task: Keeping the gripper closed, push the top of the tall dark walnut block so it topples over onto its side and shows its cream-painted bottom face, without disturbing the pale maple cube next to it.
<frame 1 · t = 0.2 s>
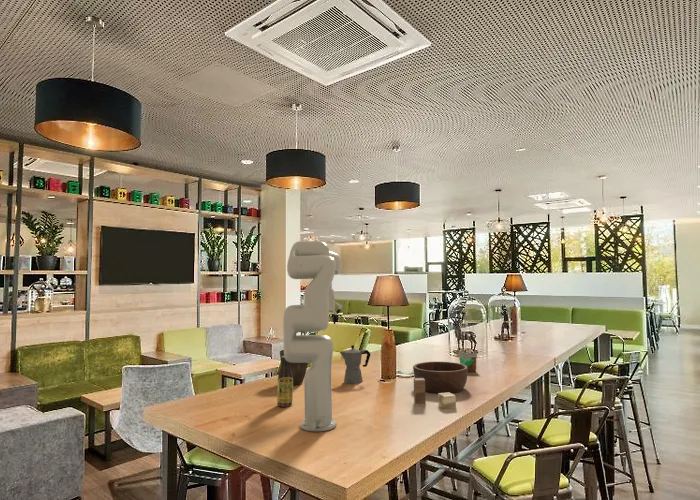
hand: (323, 324, 205), 31 cm above the table, tool pointing down, fingers open, 9 cm apart
wooden bowl: (440, 389, 210), on the table
walnut block: (419, 404, 185), on the table
brown wooden cup: (295, 383, 224), on the table
food container: (465, 371, 248), on the table
maple cube: (447, 407, 180), on the table
coffeepot: (355, 382, 226), on the table
sauce bottle: (285, 406, 185), on the table
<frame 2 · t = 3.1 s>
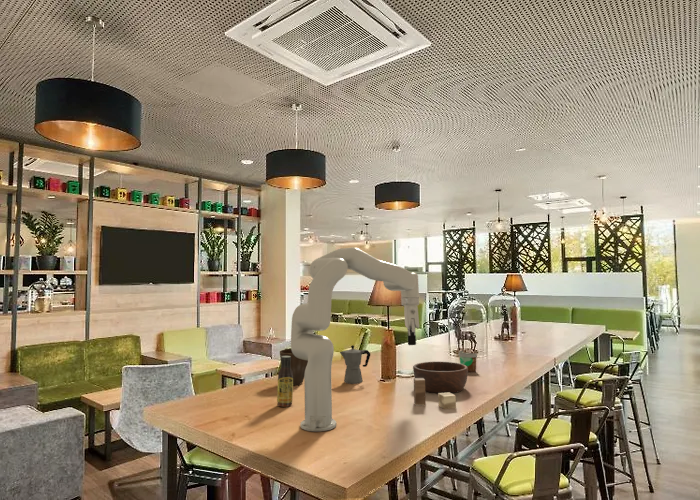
hand: (412, 344, 193), 23 cm above the table, tool pointing down, fingers closed
nothing on the table moved.
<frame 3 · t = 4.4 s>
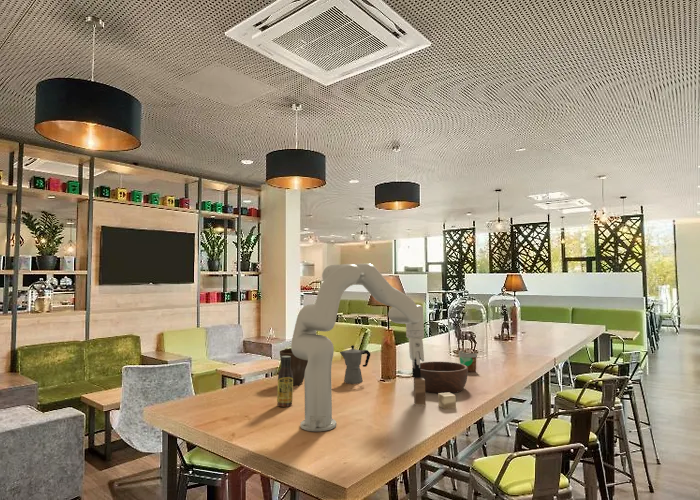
hand: (416, 377, 193), 9 cm above the table, tool pointing down, fingers closed
nothing on the table moved.
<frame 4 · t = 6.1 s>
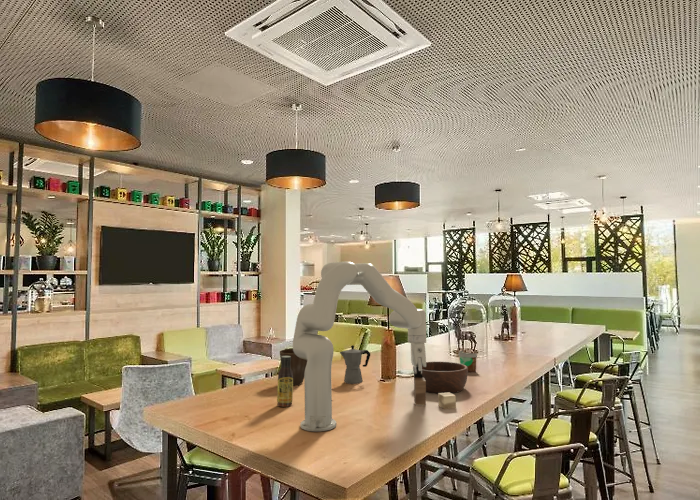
hand: (418, 383, 188), 8 cm above the table, tool pointing down, fingers closed
walnut block: (419, 403, 185), on the table, tilted 8°
everything else where it was.
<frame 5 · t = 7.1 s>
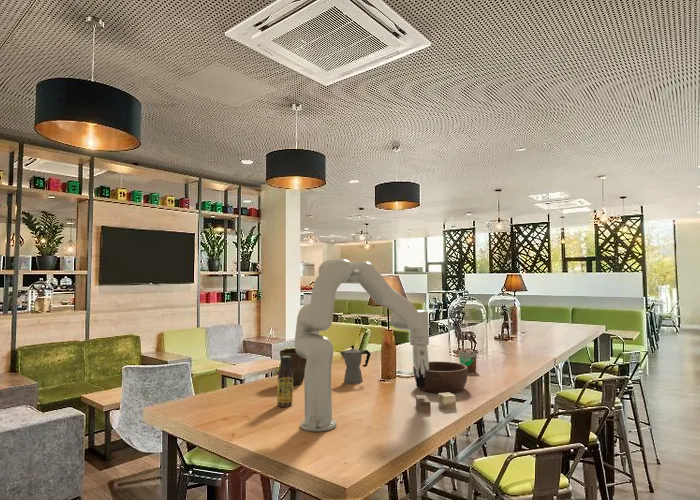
hand: (420, 386, 182), 8 cm above the table, tool pointing down, fingers closed
walnut block: (420, 400, 183), point 2 cm above the table, tilted 90°
everything else where it was.
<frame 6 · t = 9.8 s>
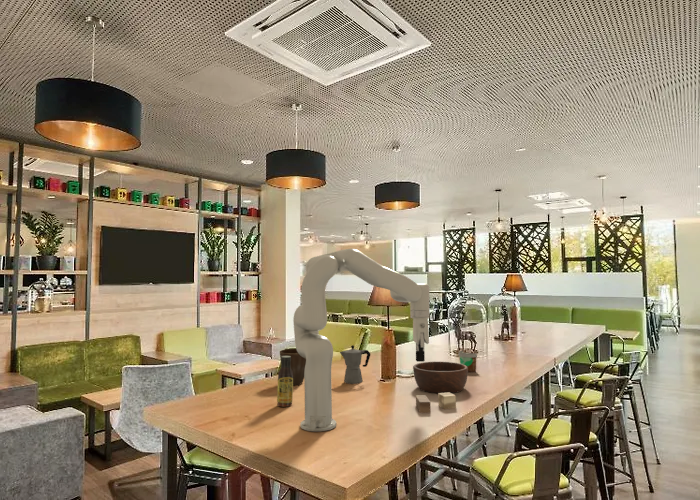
hand: (420, 361, 179), 18 cm above the table, tool pointing down, fingers closed
nothing on the table moved.
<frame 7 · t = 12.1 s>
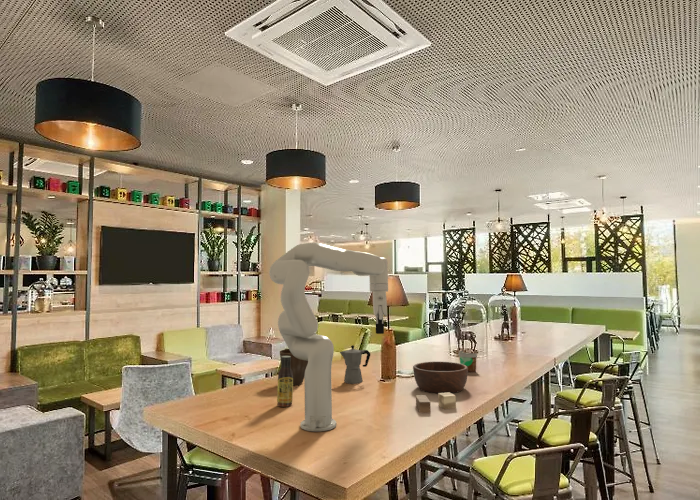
hand: (379, 333, 183), 29 cm above the table, tool pointing down, fingers closed
nothing on the table moved.
at the end: walnut block tilted 90°; walnut block inside the target area (3.0 cm from its centre), point 1.9 cm above the table; maple cube moved 0.1 cm from its start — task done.
